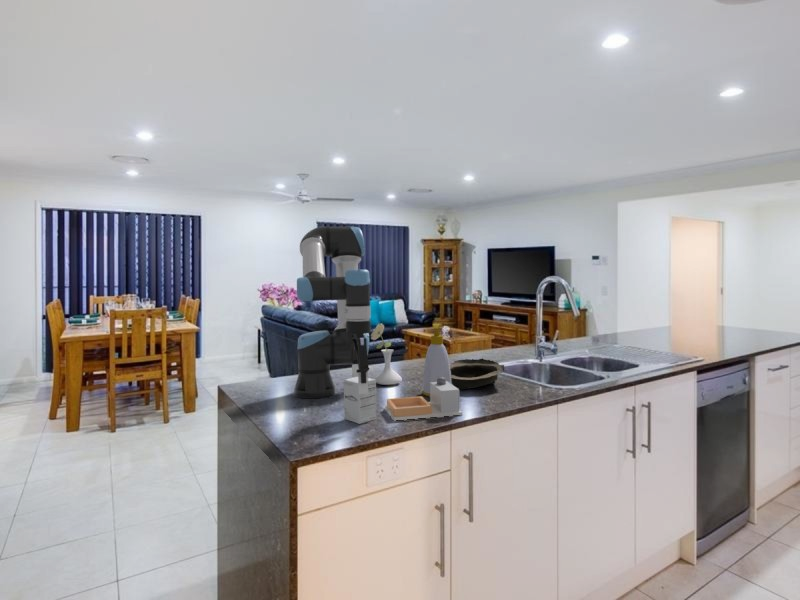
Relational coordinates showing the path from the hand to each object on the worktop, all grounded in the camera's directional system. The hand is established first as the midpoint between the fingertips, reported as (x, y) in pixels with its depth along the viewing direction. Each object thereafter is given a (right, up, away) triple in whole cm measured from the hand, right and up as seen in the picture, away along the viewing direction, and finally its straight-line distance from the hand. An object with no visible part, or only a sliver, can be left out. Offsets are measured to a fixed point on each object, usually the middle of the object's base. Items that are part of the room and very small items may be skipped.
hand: (359, 389), depth 146 cm
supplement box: (0, -10, +1) cm, 10 cm away
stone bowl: (+41, -7, +41) cm, 59 cm away
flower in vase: (+7, -7, +47) cm, 48 cm away
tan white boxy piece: (+20, -9, +8) cm, 23 cm away
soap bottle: (+26, -8, +30) cm, 40 cm away
